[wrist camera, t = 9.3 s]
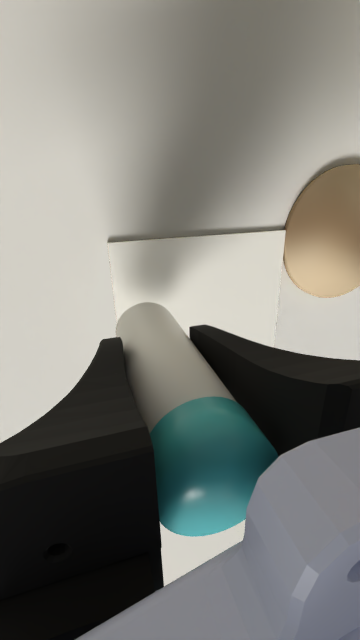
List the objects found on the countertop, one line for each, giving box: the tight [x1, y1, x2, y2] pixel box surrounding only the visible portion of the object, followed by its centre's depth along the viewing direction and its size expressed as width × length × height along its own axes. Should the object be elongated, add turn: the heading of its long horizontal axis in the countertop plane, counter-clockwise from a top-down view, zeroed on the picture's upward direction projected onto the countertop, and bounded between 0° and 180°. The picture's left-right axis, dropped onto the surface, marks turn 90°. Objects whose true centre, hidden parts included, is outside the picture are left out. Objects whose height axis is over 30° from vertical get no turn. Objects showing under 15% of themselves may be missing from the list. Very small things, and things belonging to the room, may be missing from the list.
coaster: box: [283, 164, 360, 298], centre depth 17 cm, size 7×7×1 cm
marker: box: [116, 302, 278, 536], centre depth 10 cm, size 3×3×8 cm
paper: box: [107, 230, 286, 348], centre depth 17 cm, size 12×9×1 cm
